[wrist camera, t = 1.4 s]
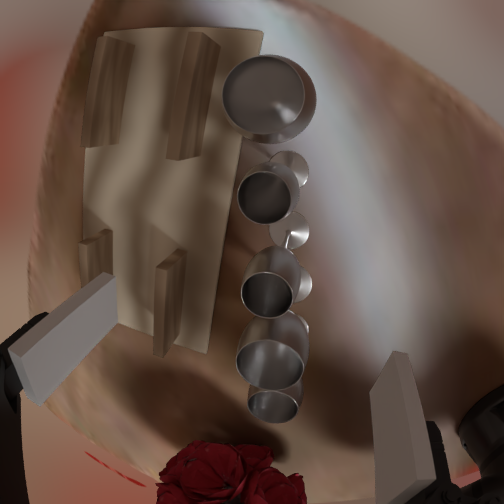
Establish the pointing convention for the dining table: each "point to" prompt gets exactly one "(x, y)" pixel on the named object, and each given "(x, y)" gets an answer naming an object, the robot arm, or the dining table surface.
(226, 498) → the bouquet
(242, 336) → the goblet set
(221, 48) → the glass rack
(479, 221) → the dining table surface
